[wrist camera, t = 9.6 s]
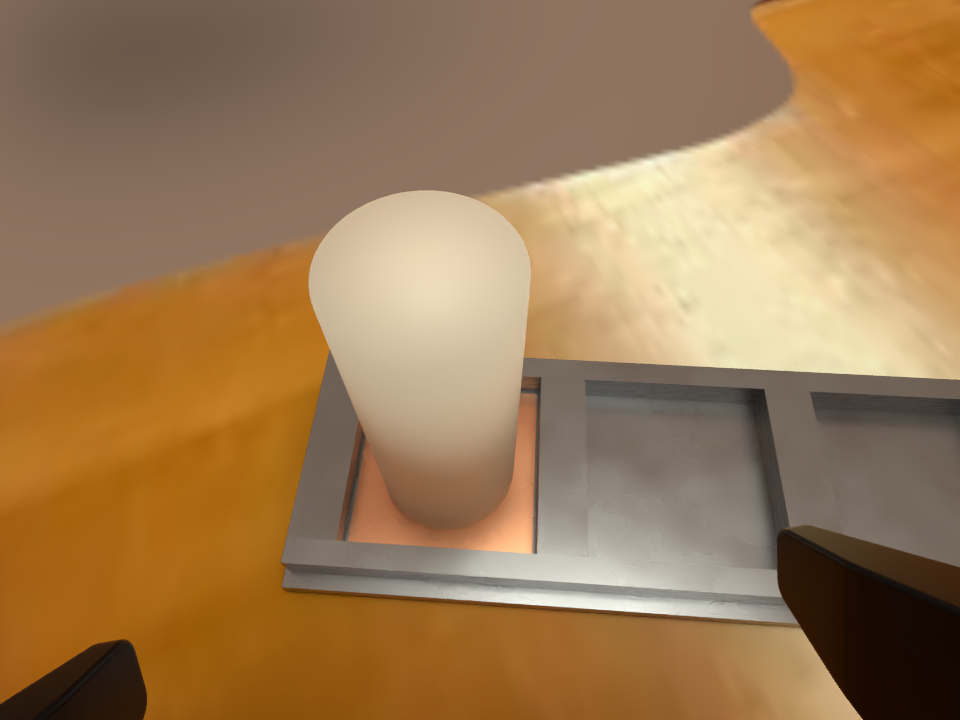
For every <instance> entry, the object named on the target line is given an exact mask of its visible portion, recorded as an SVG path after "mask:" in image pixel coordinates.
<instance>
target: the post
mask: <svg viewBox="0 0 960 720" xmlns="http://www.w3.org/2000/svg"><path fill="white" fill-rule="evenodd" d="M530 280H531V266H530V260H529V255H528V252H527V249H526V247H525V244H524V242H523V240H522V238H521V237H520V235H519V233H518V232H517V231H516V229H515V228H514V227H513V226H512V224H511V223H510V222H509V221H507V220H506V219H505V218H504V217H503V216H502V215H501V214H499V213H498V212H497V211H495V210H494V209H492V208H491V207H489V206H487V205H485V204H483V203H482V202H479V201H477V200H474V199H472V198H469V197H466V196H463V195H459V194H454V193H449V192H443V191H410V192H403V193H398V194H393V195H389V196H386V197H382V198H379V199H377V200H374V201H372V202H370V203H367V204H365V205H363V206H362V207H359V208H358V209H356V210H354V211H353V212H352V213H350V214H348V215H347V216H346V217H344V218H343V219H342V220H341V221H339V222H338V223H337V224H336V225H335V226H334V227H333V228H332V229H331V230H330V231H329V232H328V234H327V235H326V236H325V238H324V239H323V241H322V242H321V243H320V245H319V247H318V249H317V251H316V253H315V255H314V258H313V261H312V264H311V268H310V273H309V293H310V299H311V302H312V305H313V308H314V311H315V314H316V316H317V319H318V321H319V324H320V326H321V328H322V331H323V333H324V336H325V338H326V341H327V343H328V346H329V348H330V350H331V353H332V355H333V358H334V360H335V363H336V365H337V368H338V370H339V372H340V375H341V377H342V380H343V382H344V385H345V387H346V390H347V392H348V394H349V397H350V399H351V402H352V404H353V407H354V409H355V412H356V414H357V417H358V419H359V421H360V424H361V426H362V429H363V431H364V434H365V436H366V439H367V441H368V443H369V446H370V448H371V451H372V453H373V456H374V458H375V461H376V463H377V465H378V468H379V470H380V473H381V475H382V478H383V480H384V483H385V485H386V487H387V490H388V492H389V495H390V497H391V498H392V500H393V502H394V503H395V505H396V506H397V508H398V509H399V510H400V511H401V512H402V513H403V514H404V515H406V516H407V517H408V518H409V519H411V520H413V521H414V522H416V523H418V524H420V525H423V526H425V527H429V528H432V529H438V530H456V529H462V528H466V527H469V526H472V525H474V524H476V523H478V522H480V521H482V520H484V519H485V518H487V517H488V516H489V515H491V514H492V513H493V512H494V511H495V510H496V509H497V508H498V507H499V505H500V504H501V503H502V502H503V500H504V498H505V497H506V495H507V493H508V491H509V488H510V486H511V482H512V478H513V469H514V458H515V447H516V436H517V425H518V414H519V403H520V391H521V380H522V369H523V358H524V347H525V336H526V325H527V314H528V303H529V291H530Z"/></svg>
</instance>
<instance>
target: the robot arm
mask: <svg viewBox="0 0 960 720" xmlns="http://www.w3.org/2000/svg"><path fill="white" fill-rule="evenodd" d="M776 549H777V582H778V588H779V591H780V594H781V596H782V598H783V600H784V602H785V603H786V605H787V606H788V608H789V609H790V611H791V613H792V614H793V616H794V617H795V619H796V621H797V622H798V624H799V625H800V627H801V628H802V630H803V632H804V633H805V635H806V636H807V638H808V639H809V641H810V643H811V644H812V646H813V647H814V649H815V651H816V652H817V654H818V655H819V657H820V658H821V660H822V662H823V663H824V665H825V666H826V668H827V670H828V671H829V673H830V674H831V676H832V677H833V679H834V680H835V682H836V683H837V685H838V686H839V688H840V689H841V691H842V692H843V694H844V695H845V696H846V698H847V699H848V700H849V702H850V703H851V705H852V706H853V707H854V709H855V710H856V711H857V713H858V714H859V715H860V716H861V718H862V719H863V720H960V567H958V566H954V565H951V564H947V563H944V562H940V561H936V560H933V559H929V558H926V557H922V556H919V555H915V554H911V553H908V552H904V551H901V550H897V549H894V548H890V547H887V546H883V545H879V544H876V543H872V542H869V541H865V540H862V539H858V538H854V537H851V536H847V535H844V534H840V533H837V532H833V531H830V530H826V529H822V528H819V527H815V526H812V525H800V526H794V527H788V528H783V529H781V530H780V531H779V532H778V535H777V540H776ZM146 706H147V692H146V688H145V684H144V681H143V677H142V674H141V670H140V666H139V663H138V659H137V656H136V652H135V649H134V647H133V645H132V644H131V642H129V641H127V640H125V639H123V640H115V641H109V642H103V643H98V644H95V645H93V646H91V647H89V648H88V649H86V650H85V651H83V652H82V653H80V654H78V655H77V656H75V657H74V658H72V659H70V660H69V661H67V662H66V663H64V664H63V665H61V666H59V667H58V668H56V669H55V670H53V671H52V672H50V673H48V674H47V675H45V676H44V677H42V678H41V679H39V680H37V681H36V682H34V683H33V684H31V685H30V686H28V687H26V688H25V689H23V690H22V691H20V692H18V693H17V694H15V695H14V696H12V697H11V698H9V699H7V700H6V701H4V702H3V703H1V704H0V720H143V718H144V715H145V711H146Z"/></svg>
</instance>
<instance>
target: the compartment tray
mask: <svg viewBox="0 0 960 720" xmlns="http://www.w3.org/2000/svg"><path fill="white" fill-rule="evenodd" d="M800 525H812V526H815V527H819V528H822V529H826V530H830V531H833V532H837V533H840V534H844V535H847V536H851V537H854V538H858V539H862V540H865V541H869V542H872V543H876V544H879V545H883V546H887V547H890V548H894V549H897V550H901V551H904V552H908V553H911V554H915V555H919V556H922V557H926V558H929V559H933V560H936V561H940V562H944V563H947V564H951V565H954V566H958V567H960V380H949V379H930V378H910V377H891V376H871V375H851V374H832V373H812V372H793V371H773V370H753V369H734V368H714V367H695V366H675V365H656V364H636V363H616V362H597V361H577V360H558V359H538V358H523V369H522V380H521V391H520V403H519V414H518V425H517V436H516V447H515V458H514V469H513V478H512V482H511V486H510V488H509V491H508V493H507V495H506V497H505V498H504V500H503V502H502V503H501V504H500V505H499V507H498V508H497V509H496V510H495V511H494V512H493V513H492V514H491V515H489V516H488V517H487V518H485V519H484V520H482V521H480V522H478V523H476V524H474V525H472V526H469V527H466V528H462V529H456V530H438V529H432V528H429V527H425V526H423V525H420V524H418V523H416V522H414V521H413V520H411V519H409V518H408V517H407V516H406V515H404V514H403V513H402V512H401V511H400V510H399V509H398V508H397V506H396V505H395V503H394V502H393V500H392V498H391V497H390V495H389V492H388V490H387V487H386V485H385V483H384V480H383V478H382V475H381V473H380V470H379V468H378V465H377V463H376V461H375V458H374V456H373V453H372V451H371V448H370V446H369V443H368V441H367V439H366V436H365V434H364V431H363V429H362V426H361V424H360V421H359V419H358V417H357V414H356V412H355V409H354V407H353V404H352V402H351V399H350V397H349V394H348V392H347V390H346V387H345V385H344V382H343V380H342V377H341V375H340V372H339V370H338V368H337V365H336V363H335V360H334V358H333V355H332V353H331V350H330V351H329V355H328V359H327V364H326V368H325V372H324V377H323V381H322V385H321V390H320V394H319V399H318V403H317V407H316V412H315V416H314V420H313V425H312V429H311V433H310V438H309V442H308V446H307V451H306V455H305V460H304V464H303V468H302V473H301V477H300V481H299V486H298V490H297V494H296V499H295V503H294V507H293V512H292V516H291V521H290V525H289V529H288V534H287V538H286V542H285V547H284V551H283V555H282V560H281V563H282V564H283V565H284V566H285V567H286V570H285V575H284V579H283V584H282V588H284V589H285V590H286V591H294V592H308V593H322V594H336V595H350V596H364V597H378V598H392V599H406V600H421V601H435V602H449V603H463V604H477V605H491V606H505V607H519V608H533V609H547V610H561V611H575V612H589V613H603V614H617V615H631V616H646V617H660V618H674V619H688V620H702V621H716V622H730V623H744V624H758V625H772V626H786V627H800V625H799V624H798V622H797V621H796V619H795V617H794V616H793V614H792V613H791V611H790V609H789V608H788V606H787V605H786V603H785V602H784V600H783V598H782V596H781V594H780V591H779V588H778V582H777V549H776V540H777V535H778V532H779V531H780V530H781V529H783V528H788V527H794V526H800ZM800 628H801V627H800Z"/></svg>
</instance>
